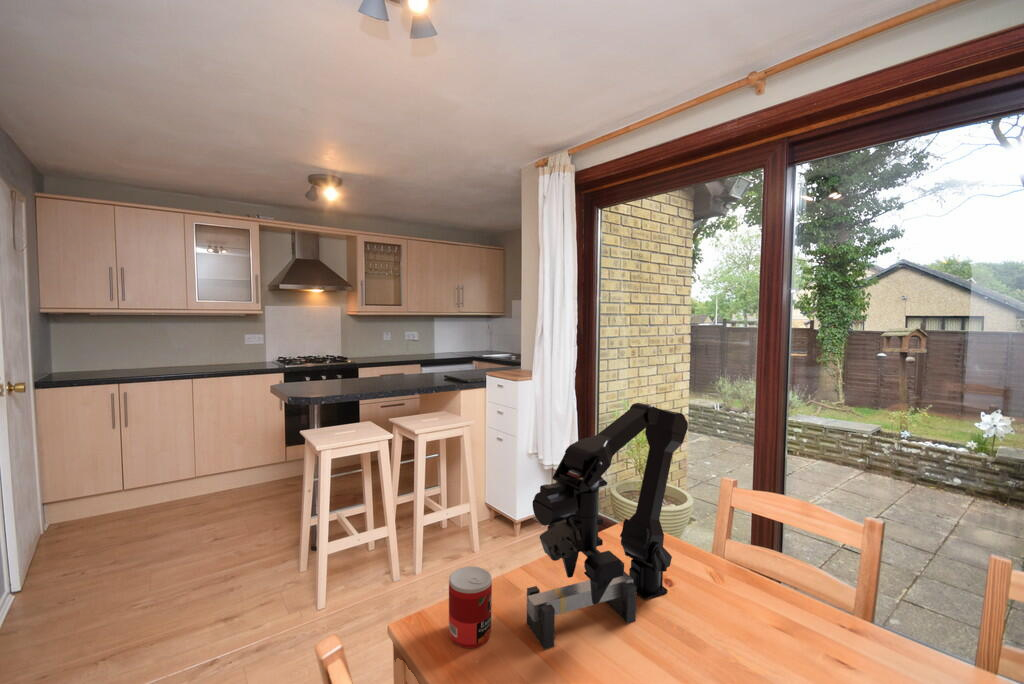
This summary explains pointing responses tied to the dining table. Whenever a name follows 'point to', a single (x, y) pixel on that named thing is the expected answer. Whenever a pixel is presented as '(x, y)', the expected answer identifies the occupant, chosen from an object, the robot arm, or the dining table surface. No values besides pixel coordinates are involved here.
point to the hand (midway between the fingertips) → (582, 589)
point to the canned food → (470, 606)
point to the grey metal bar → (573, 597)
